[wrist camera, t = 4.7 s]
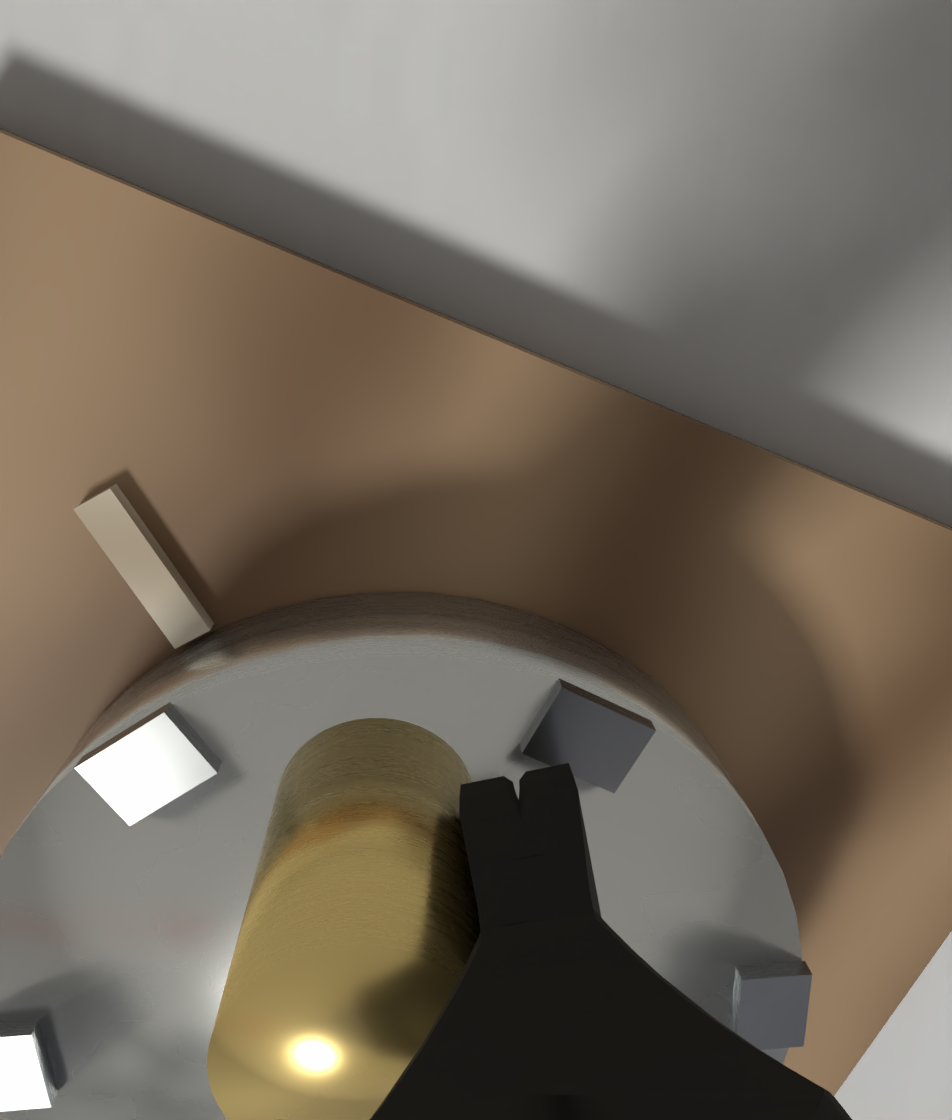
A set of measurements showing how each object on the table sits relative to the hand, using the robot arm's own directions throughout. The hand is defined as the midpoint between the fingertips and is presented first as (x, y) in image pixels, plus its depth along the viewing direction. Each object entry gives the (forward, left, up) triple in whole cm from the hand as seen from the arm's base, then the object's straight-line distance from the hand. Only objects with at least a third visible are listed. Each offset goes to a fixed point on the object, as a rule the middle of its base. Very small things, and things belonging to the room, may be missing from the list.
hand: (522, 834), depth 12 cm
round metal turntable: (0, +5, -4) cm, 6 cm away
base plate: (0, +5, -5) cm, 7 cm away
